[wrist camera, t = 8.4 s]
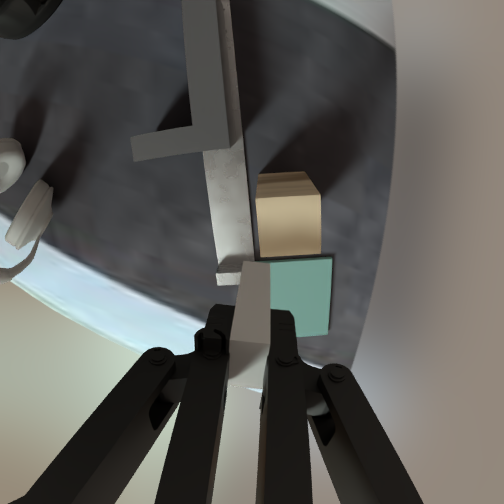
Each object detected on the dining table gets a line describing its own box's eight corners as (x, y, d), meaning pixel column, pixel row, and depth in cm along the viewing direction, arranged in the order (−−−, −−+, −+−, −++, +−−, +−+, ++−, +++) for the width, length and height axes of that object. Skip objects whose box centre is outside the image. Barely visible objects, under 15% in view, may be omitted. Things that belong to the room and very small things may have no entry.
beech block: (258, 174, 32) (255, 198, 23) (304, 171, 31) (320, 194, 22) (262, 217, 34) (260, 257, 25) (306, 214, 33) (320, 253, 24)
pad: (249, 261, 36) (248, 264, 36) (331, 256, 36) (332, 258, 35) (256, 336, 41) (256, 339, 41) (326, 331, 41) (327, 334, 40)
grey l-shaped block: (143, 22, 24) (120, 8, 18) (223, 5, 23) (214, -16, 18) (155, 153, 30) (134, 162, 25) (236, 142, 30) (229, 148, 24)
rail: (188, -11, 22) (182, -19, 20) (227, -17, 22) (224, -26, 20) (220, 274, 37) (217, 285, 35) (255, 272, 37) (255, 283, 35)
